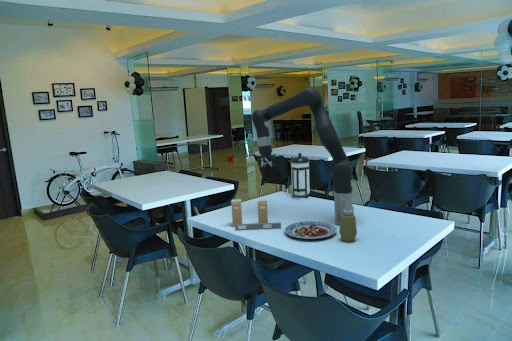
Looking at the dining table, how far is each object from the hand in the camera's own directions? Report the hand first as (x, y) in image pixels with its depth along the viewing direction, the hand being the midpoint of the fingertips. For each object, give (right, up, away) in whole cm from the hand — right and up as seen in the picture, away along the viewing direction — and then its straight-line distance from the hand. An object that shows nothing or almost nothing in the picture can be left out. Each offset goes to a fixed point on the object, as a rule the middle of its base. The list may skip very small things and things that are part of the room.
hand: (268, 173), depth 225 cm
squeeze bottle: (+36, -31, -38) cm, 61 cm away
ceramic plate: (+20, -30, -26) cm, 44 cm away
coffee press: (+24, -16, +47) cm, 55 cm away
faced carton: (-17, -28, -8) cm, 34 cm away
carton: (-3, -28, -10) cm, 30 cm away
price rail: (-6, -29, -17) cm, 34 cm away
